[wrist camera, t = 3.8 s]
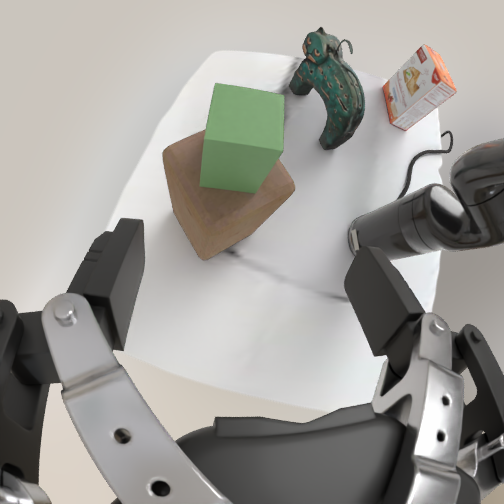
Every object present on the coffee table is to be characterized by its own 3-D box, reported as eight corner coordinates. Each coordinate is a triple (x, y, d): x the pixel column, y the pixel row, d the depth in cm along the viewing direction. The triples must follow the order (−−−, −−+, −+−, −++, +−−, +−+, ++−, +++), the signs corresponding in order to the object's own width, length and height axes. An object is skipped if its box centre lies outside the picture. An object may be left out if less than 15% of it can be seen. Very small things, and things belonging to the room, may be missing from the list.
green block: (258, 146, 25) (284, 95, 17) (255, 193, 24) (283, 151, 16) (207, 138, 24) (215, 82, 16) (199, 186, 23) (203, 139, 15)
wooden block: (202, 263, 42) (209, 238, 23) (171, 209, 42) (157, 146, 23) (255, 232, 45) (302, 187, 25) (224, 181, 45) (248, 109, 25)
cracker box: (380, 86, 58) (423, 42, 38) (397, 94, 59) (440, 54, 39) (388, 123, 56) (441, 79, 36) (405, 132, 57) (459, 92, 37)
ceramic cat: (281, 80, 51) (314, 13, 32) (305, 79, 53) (343, 18, 33) (318, 154, 50) (376, 95, 30) (344, 150, 51) (403, 97, 32)
